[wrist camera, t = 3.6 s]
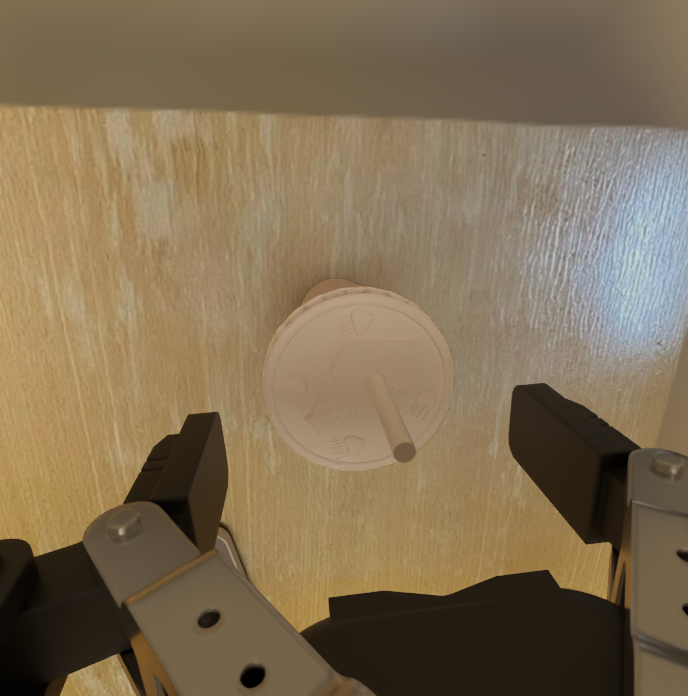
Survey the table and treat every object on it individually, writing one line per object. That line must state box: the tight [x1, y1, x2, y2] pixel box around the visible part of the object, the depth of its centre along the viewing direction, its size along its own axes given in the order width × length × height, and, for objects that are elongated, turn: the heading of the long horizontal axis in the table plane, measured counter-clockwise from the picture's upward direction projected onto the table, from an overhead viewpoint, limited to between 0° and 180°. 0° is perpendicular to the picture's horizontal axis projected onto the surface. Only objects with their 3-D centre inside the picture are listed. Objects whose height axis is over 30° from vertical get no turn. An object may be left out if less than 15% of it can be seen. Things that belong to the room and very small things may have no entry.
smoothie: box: [262, 278, 455, 471], centre depth 17 cm, size 6×6×14 cm
